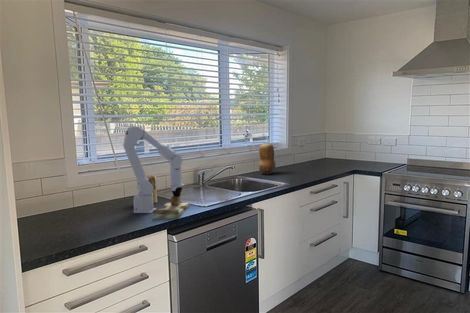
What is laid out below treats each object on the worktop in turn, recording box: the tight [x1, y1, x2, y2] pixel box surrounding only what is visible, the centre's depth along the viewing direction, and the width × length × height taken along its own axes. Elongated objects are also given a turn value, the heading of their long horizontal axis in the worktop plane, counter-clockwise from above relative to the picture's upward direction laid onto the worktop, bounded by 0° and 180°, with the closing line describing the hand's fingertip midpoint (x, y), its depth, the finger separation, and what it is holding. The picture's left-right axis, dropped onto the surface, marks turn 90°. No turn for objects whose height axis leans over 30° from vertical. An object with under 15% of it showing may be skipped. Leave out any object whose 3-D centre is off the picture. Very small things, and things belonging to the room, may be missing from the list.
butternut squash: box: [258, 142, 276, 175], centre depth 280 cm, size 14×13×25 cm
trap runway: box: [153, 202, 190, 219], centre depth 177 cm, size 12×22×4 cm, turn 175°
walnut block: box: [170, 195, 181, 206], centre depth 184 cm, size 4×4×4 cm
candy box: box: [146, 175, 158, 204], centre depth 197 cm, size 9×4×15 cm, turn 96°
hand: (177, 201), depth 187 cm, fingers closed
